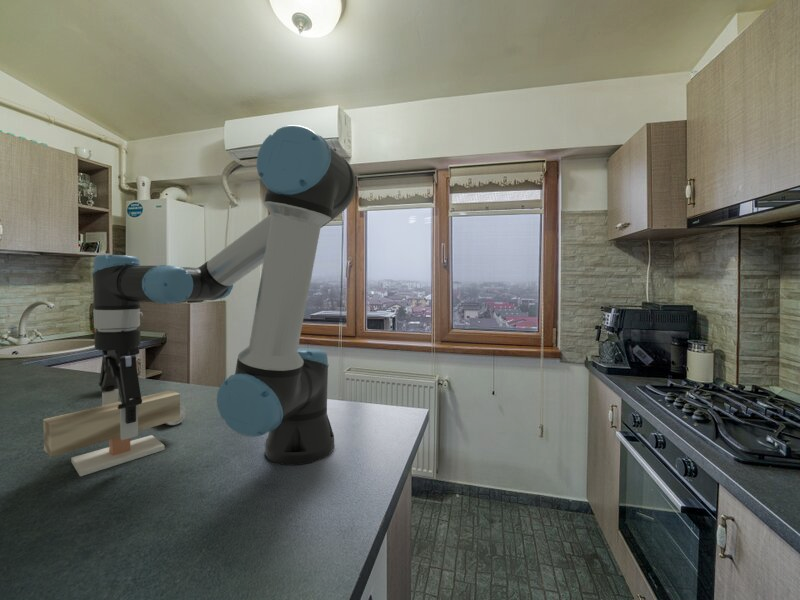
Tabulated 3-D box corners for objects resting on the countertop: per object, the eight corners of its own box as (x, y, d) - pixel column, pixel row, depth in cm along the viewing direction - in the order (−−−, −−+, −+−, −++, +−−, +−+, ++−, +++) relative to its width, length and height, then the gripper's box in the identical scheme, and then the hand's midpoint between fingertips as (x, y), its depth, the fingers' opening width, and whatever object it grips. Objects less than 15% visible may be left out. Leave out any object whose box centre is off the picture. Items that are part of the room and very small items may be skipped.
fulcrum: (164, 449, 77) (164, 427, 77) (80, 476, 66) (79, 450, 66) (152, 439, 82) (151, 418, 82) (71, 462, 71) (71, 438, 71)
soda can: (169, 404, 88) (150, 394, 95) (160, 424, 87) (142, 413, 94) (189, 406, 92) (170, 397, 99) (181, 426, 91) (162, 416, 98)
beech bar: (180, 418, 82) (179, 393, 82) (51, 457, 63) (50, 424, 63) (170, 414, 84) (170, 390, 84) (44, 450, 66) (43, 419, 65)
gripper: (160, 333, 68) (161, 439, 69) (122, 322, 83) (123, 409, 84) (111, 338, 62) (113, 453, 63) (80, 324, 77) (82, 418, 78)
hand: (119, 428), depth 74 cm, fingers open, 13 cm apart
